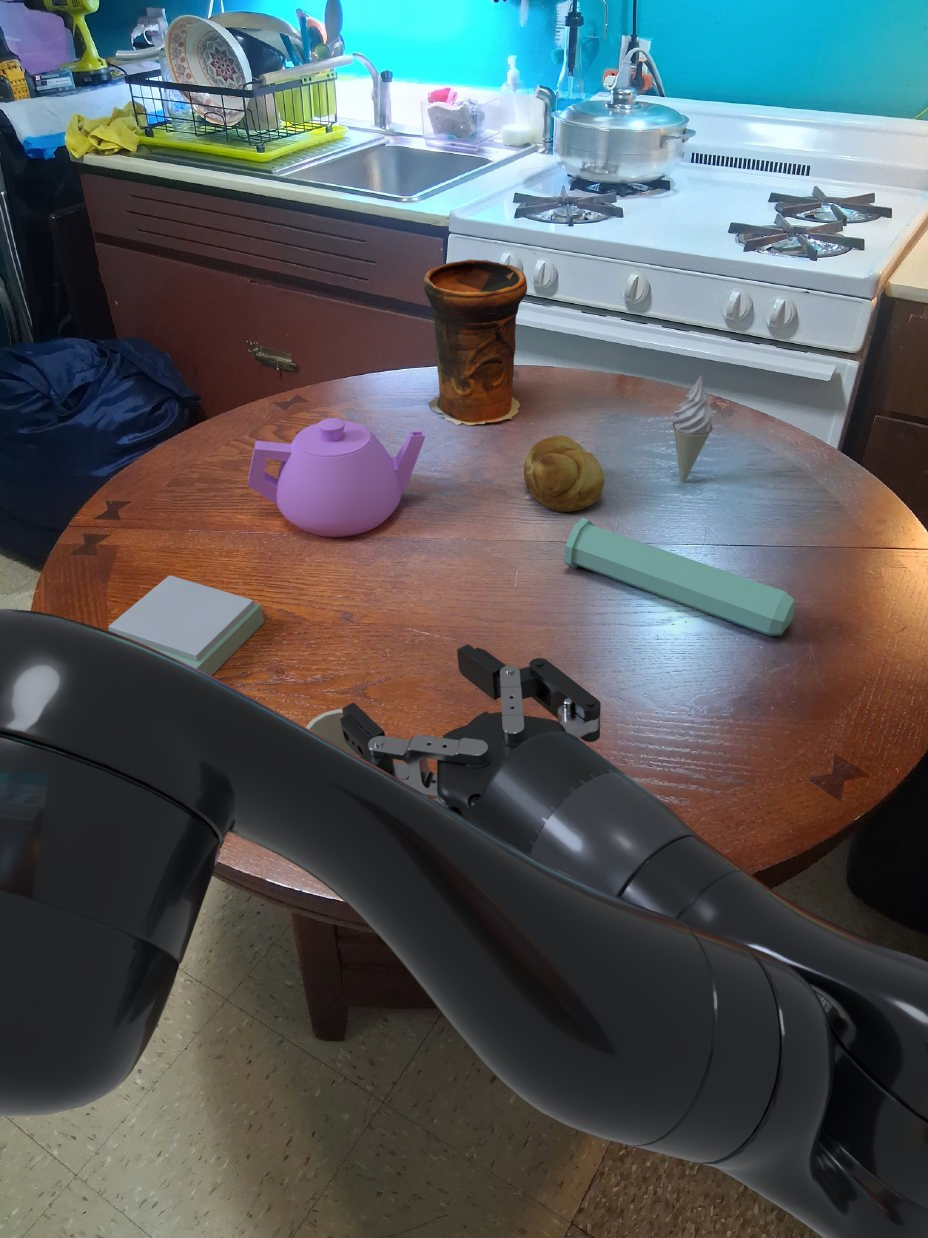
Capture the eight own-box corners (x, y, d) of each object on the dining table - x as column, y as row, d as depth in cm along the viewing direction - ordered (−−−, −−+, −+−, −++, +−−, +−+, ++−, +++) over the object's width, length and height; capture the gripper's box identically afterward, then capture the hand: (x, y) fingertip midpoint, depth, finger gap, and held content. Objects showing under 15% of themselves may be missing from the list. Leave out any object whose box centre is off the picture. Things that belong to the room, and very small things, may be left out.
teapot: (254, 553, 104) (236, 463, 96) (253, 486, 115) (238, 402, 108) (437, 532, 107) (434, 444, 99) (418, 470, 118) (414, 386, 111)
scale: (194, 694, 85) (187, 669, 83) (98, 660, 89) (89, 636, 87) (264, 622, 94) (259, 598, 92) (174, 594, 97) (168, 571, 95)
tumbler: (363, 848, 71) (354, 775, 65) (300, 824, 73) (286, 750, 67) (398, 795, 75) (391, 722, 70) (337, 773, 77) (327, 700, 71)
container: (806, 581, 88) (585, 507, 99) (785, 628, 86) (560, 547, 96) (799, 611, 93) (589, 537, 104) (778, 656, 91) (566, 576, 101)
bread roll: (511, 472, 118) (513, 417, 113) (580, 464, 119) (585, 410, 114) (537, 523, 108) (540, 466, 103) (611, 514, 110) (618, 457, 105)
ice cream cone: (656, 483, 115) (672, 375, 106) (675, 468, 118) (693, 362, 109) (690, 496, 113) (710, 386, 103) (709, 480, 116) (730, 373, 106)
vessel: (451, 438, 126) (448, 297, 113) (413, 398, 136) (407, 266, 123) (539, 418, 130) (546, 281, 118) (496, 382, 140) (499, 252, 128)
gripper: (690, 719, 45) (492, 591, 56) (469, 866, 38) (294, 688, 49) (680, 820, 49) (498, 683, 60) (480, 967, 42) (317, 783, 53)
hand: (407, 685), depth 54 cm, fingers open, 8 cm apart
